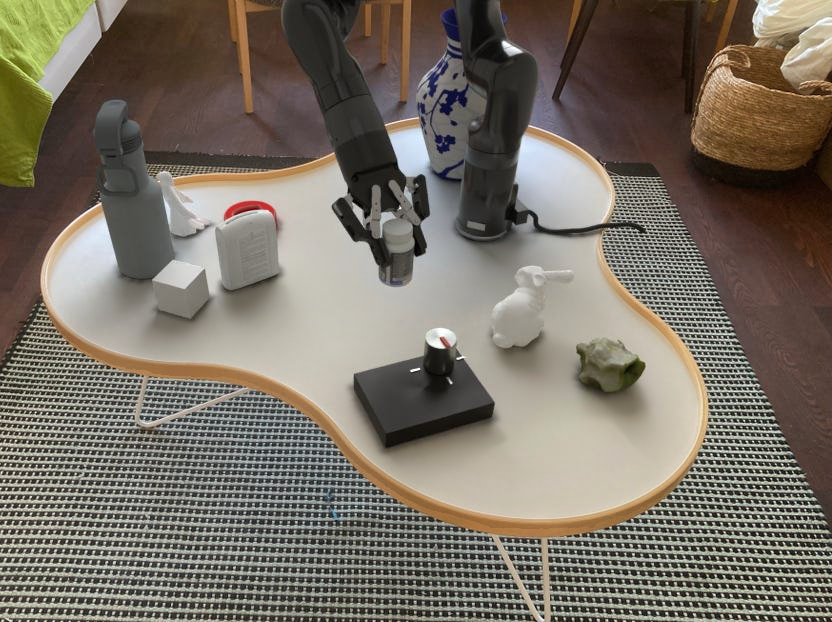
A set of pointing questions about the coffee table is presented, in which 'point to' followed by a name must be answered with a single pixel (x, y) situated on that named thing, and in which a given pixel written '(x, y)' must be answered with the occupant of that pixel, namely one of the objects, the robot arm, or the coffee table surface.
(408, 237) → the pill bottle
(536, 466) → the coffee table surface
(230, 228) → the photo printer
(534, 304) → the rabbit
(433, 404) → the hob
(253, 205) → the decorative ornament
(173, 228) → the figurine
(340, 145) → the robot arm
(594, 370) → the greyish green lumpy piece
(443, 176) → the vase
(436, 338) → the knob
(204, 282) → the white cube
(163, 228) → the water bottle
